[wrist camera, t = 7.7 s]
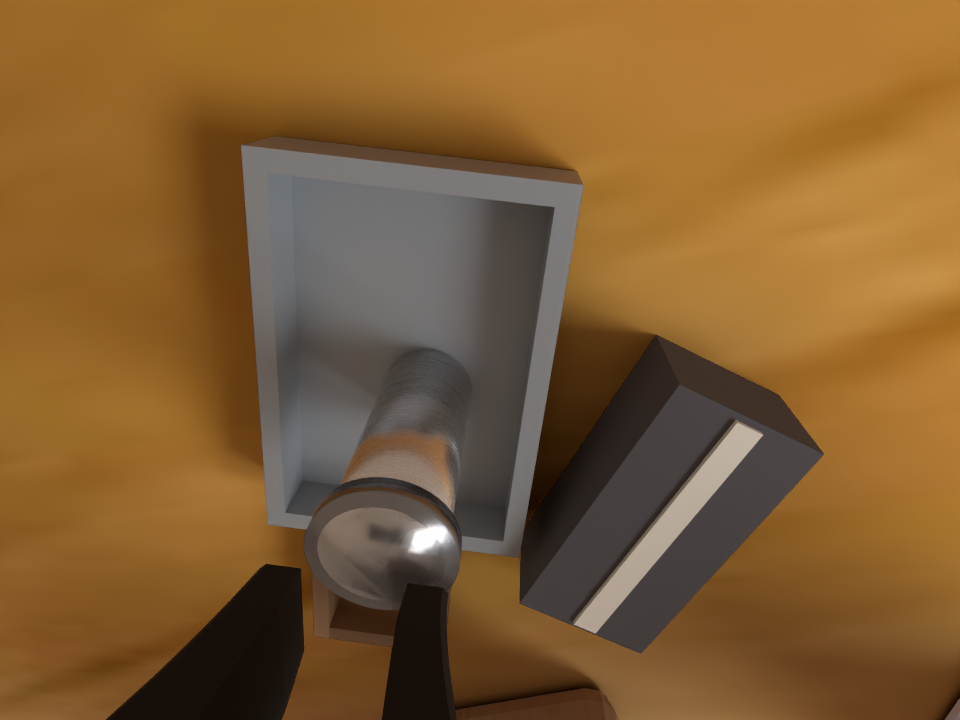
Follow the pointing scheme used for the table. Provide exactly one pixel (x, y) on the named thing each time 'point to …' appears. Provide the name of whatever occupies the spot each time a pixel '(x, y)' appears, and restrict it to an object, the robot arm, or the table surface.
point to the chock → (660, 496)
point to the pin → (398, 489)
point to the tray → (403, 310)
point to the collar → (351, 618)
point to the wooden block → (546, 708)
